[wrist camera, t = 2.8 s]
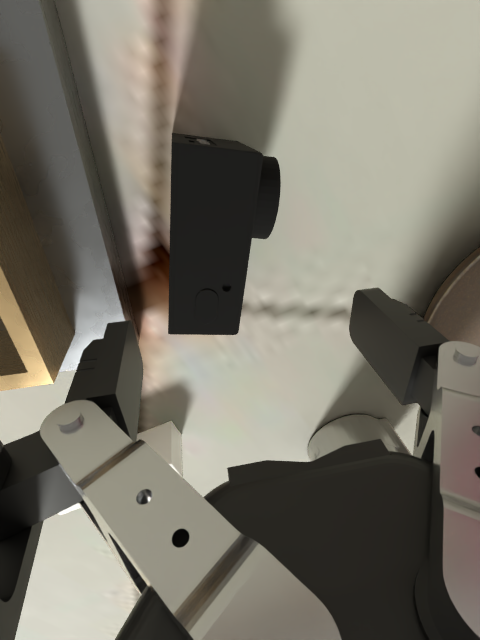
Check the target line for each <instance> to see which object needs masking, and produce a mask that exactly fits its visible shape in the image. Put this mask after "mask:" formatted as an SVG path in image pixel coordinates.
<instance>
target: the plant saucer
mask: <svg viewBox="0 0 480 640" xmlns="http://www.w3.org/2000/svg"><path fill="white" fill-rule="evenodd" d="M424 321H426V322H428V323H429V324H430V325H431V326H432V327H434V328H435V329H436V330H437V331H438V332H440V333H441V334H442V335H443V336H444V337H446V338H447V339H448V340H449V341H460V342H466V343H470V344H473V345H476V346H478V347H480V247H479V248H478V249H476V250H475V251H474V252H473V253H472V254H470V255H469V256H468V257H467V258H466V259H465V260H464V261H463V262H461V263H460V264H459V265H458V266H457V267H456V269H455V270H454V271H453V272H452V273H451V274H450V275H449V276H448V278H447V279H446V280H445V281H444V282H443V284H442V285H441V287H440V288H439V289H438V291H437V292H436V294H435V296H434V297H433V299H432V301H431V303H430V305H429V307H428V309H427V311H426V314H425V316H424Z"/></svg>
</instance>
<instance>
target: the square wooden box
mask: <svg viewBox="0 0 480 640" xmlns="http://www.w3.org/2000/svg"><path fill="white" fill-rule="evenodd" d="M127 320H131V321H132V324H133V327H134V330H135V334H136V338H137V342H138V344H139V335H138V331H137V327H136V323H135V319H134V316H133V312H132V308H131V304H130V300H129V296H128V292H127V288H126V284H125V280H124V276H123V272H122V268H121V264H120V260H119V256H118V252H117V248H116V244H115V240H114V236H113V232H112V228H111V224H110V220H109V216H108V212H107V208H106V204H105V200H104V196H103V192H102V188H101V184H100V180H99V176H98V172H97V168H96V164H95V160H94V156H93V153H92V149H91V145H90V141H89V137H88V133H87V129H86V125H85V121H84V117H83V113H82V109H81V105H80V101H79V97H78V93H77V89H76V85H75V81H74V77H73V73H72V69H71V65H70V61H69V57H68V53H67V49H66V45H65V41H64V37H63V33H62V29H61V25H60V21H59V17H58V13H57V9H56V5H55V1H54V0H0V391H3V390H10V389H17V388H24V387H32V386H39V385H46V384H53V383H54V381H55V379H56V377H57V374H58V372H62V371H69V370H77V367H78V364H79V363H80V358H81V355H82V353H83V350H84V349H85V348H86V347H87V346H88V345H89V344H90V343H91V342H92V341H93V340H96V339H103V337H104V333H105V330H106V326H107V324H108V323H112V322H120V321H127Z"/></svg>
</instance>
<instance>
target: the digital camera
mask: <svg viewBox="0 0 480 640" xmlns="http://www.w3.org/2000/svg"><path fill="white" fill-rule="evenodd" d="M279 198H280V168H279V164H278V161H277V159H276V158H275V157H267V156H263V155H262V153H260V152H258V151H256V150H254V149H252V148H250V147H248V146H246V145H244V144H242V143H240V142H237V141H229V140H221V139H213V138H206V137H198V136H190V135H182V134H173V133H172V160H171V215H170V270H169V325H168V334H200V335H235V334H237V333H238V331H239V324H240V317H241V310H242V303H243V296H244V289H245V282H246V275H247V268H248V260H249V253H250V246H251V239H252V238H259V239H267V238H268V237H269V235H270V234H271V232H272V230H273V227H274V224H275V221H276V216H277V212H278V206H279Z"/></svg>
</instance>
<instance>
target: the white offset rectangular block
mask: <svg viewBox="0 0 480 640" xmlns="http://www.w3.org/2000/svg"><path fill="white" fill-rule="evenodd" d="M139 439H141V440H143V441H145V442H146V443H147V444H148V445H149V446H150V447H151V448H152V449H153V450H154V451H155V452H156V453H158V454H159V455H160V456H161V457H162V458H163V459H164V460H165V461H166V462H167V463H168V464H169V465H170V466H171V467H172V468H173V469H174V470H175V471H176V472H177V473H178V474H179V475H180V476H181V477H182V478H183V468H182V435H181V433H180V432H179V431H178V429H177V428H176V426H175V425H174V424H173V422H172V421H170V422H167V423H164V424H162V425H159V426H156V427H154V428H151V429H149V430H146V431H143V432H141V433H138V434H137V441H138V440H139ZM78 508H81V506H80V505H79V503H77V504H75V505H73V506H71V507H69V508H67V509H65V510H63V511H61V512H59V513H57V514H59V515H63V514H65V513H68V512H70V511H73V510H76V509H78Z"/></svg>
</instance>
